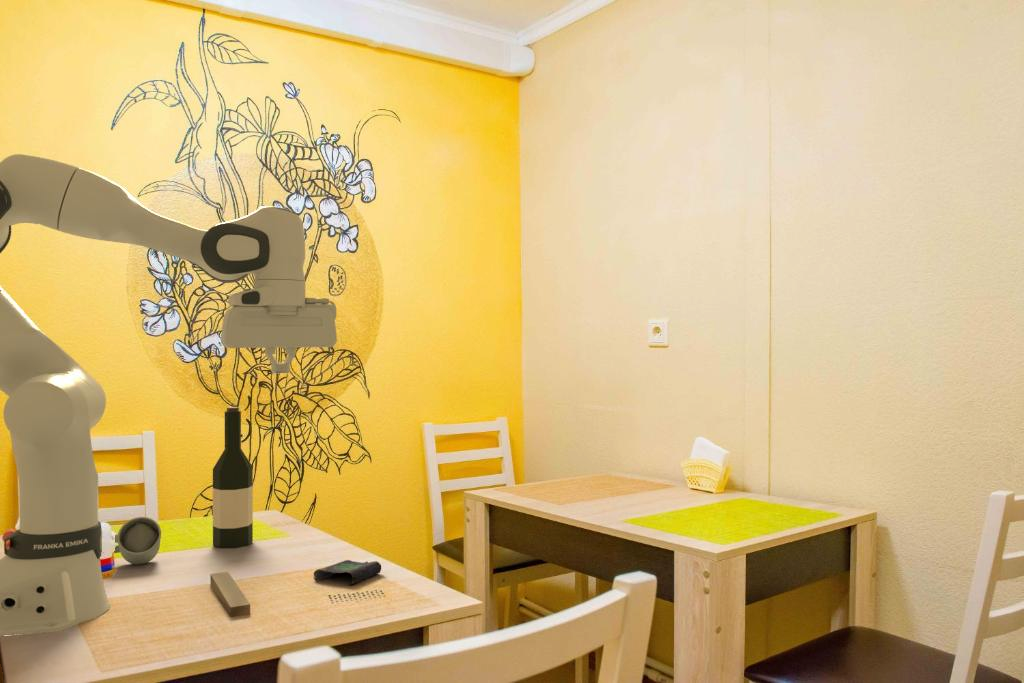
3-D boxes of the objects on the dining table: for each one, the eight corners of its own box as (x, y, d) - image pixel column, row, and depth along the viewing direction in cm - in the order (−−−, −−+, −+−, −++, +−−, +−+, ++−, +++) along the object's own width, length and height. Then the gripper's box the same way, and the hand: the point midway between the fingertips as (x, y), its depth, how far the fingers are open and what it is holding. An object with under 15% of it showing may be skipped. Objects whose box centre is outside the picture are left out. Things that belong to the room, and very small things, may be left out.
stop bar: (230, 626, 125) (230, 607, 125) (210, 590, 143) (210, 574, 143) (250, 623, 127) (250, 604, 127) (227, 588, 144) (227, 571, 144)
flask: (312, 568, 145) (348, 557, 155) (312, 585, 145) (349, 572, 155) (353, 571, 141) (388, 559, 151) (353, 588, 141) (388, 575, 151)
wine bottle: (211, 540, 177) (211, 406, 177) (250, 536, 181) (250, 405, 181) (214, 549, 170) (214, 409, 169) (255, 545, 173) (254, 408, 173)
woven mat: (384, 599, 140) (384, 587, 140) (396, 619, 130) (396, 607, 130) (324, 605, 136) (324, 594, 136) (331, 627, 126) (331, 614, 126)
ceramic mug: (150, 571, 159) (167, 536, 164) (149, 559, 153) (167, 522, 158) (96, 555, 158) (115, 519, 162) (94, 542, 151) (113, 505, 156)
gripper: (331, 299, 152) (331, 371, 152) (219, 296, 142) (219, 373, 142) (341, 297, 147) (341, 372, 147) (225, 295, 137) (225, 375, 137)
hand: (280, 373), depth 144 cm, fingers closed
